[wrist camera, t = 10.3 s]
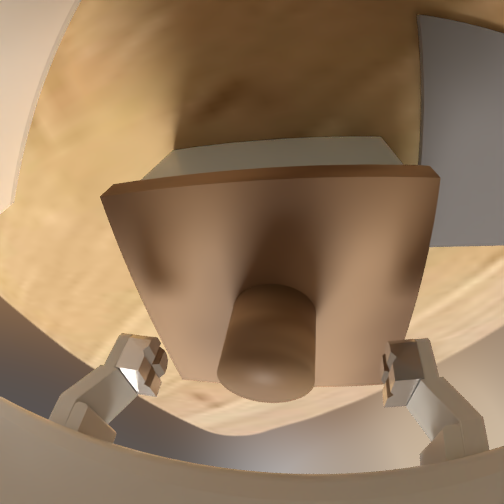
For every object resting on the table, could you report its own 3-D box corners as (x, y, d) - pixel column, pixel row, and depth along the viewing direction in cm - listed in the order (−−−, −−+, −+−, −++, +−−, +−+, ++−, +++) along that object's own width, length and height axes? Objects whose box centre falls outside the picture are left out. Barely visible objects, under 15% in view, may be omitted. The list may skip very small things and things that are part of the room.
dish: (380, 136, 13) (413, 178, 9) (368, 297, 19) (378, 363, 15) (173, 150, 15) (126, 194, 11) (211, 298, 21) (191, 360, 17)
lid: (429, 165, 9) (484, 233, 6) (386, 368, 15) (393, 435, 12) (113, 184, 11) (50, 246, 8) (186, 365, 17) (167, 426, 14)
